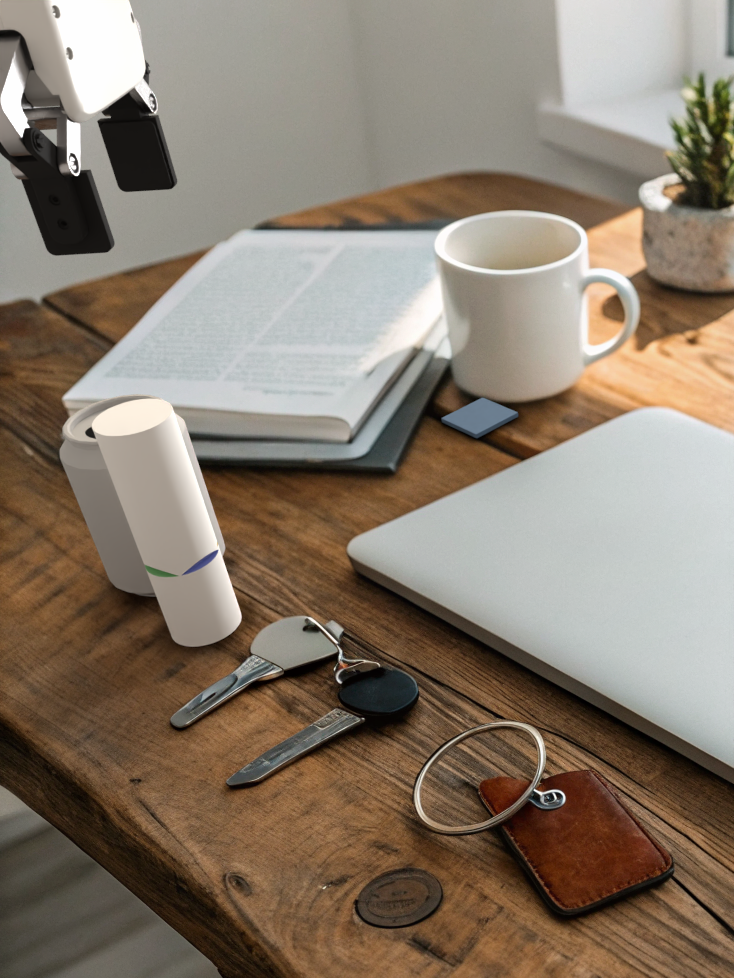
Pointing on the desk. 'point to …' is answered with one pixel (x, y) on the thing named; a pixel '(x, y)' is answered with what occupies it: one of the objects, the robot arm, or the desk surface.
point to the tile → (479, 417)
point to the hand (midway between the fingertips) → (118, 218)
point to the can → (113, 497)
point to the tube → (168, 519)
